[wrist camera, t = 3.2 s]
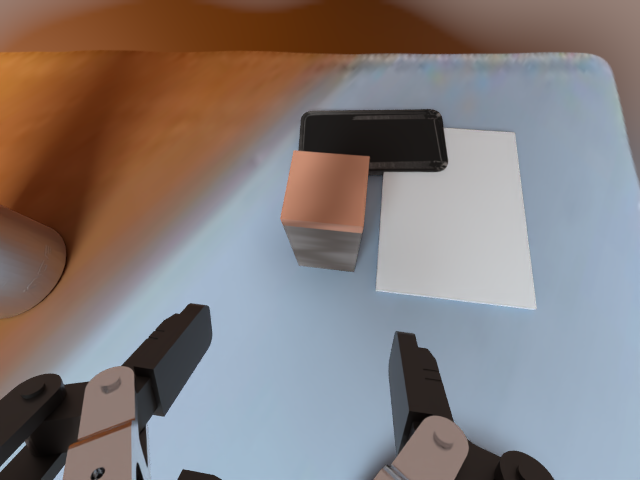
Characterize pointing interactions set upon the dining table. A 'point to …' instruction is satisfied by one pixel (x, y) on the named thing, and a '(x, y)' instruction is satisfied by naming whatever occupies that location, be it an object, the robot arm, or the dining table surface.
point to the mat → (458, 226)
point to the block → (325, 208)
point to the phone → (379, 138)
